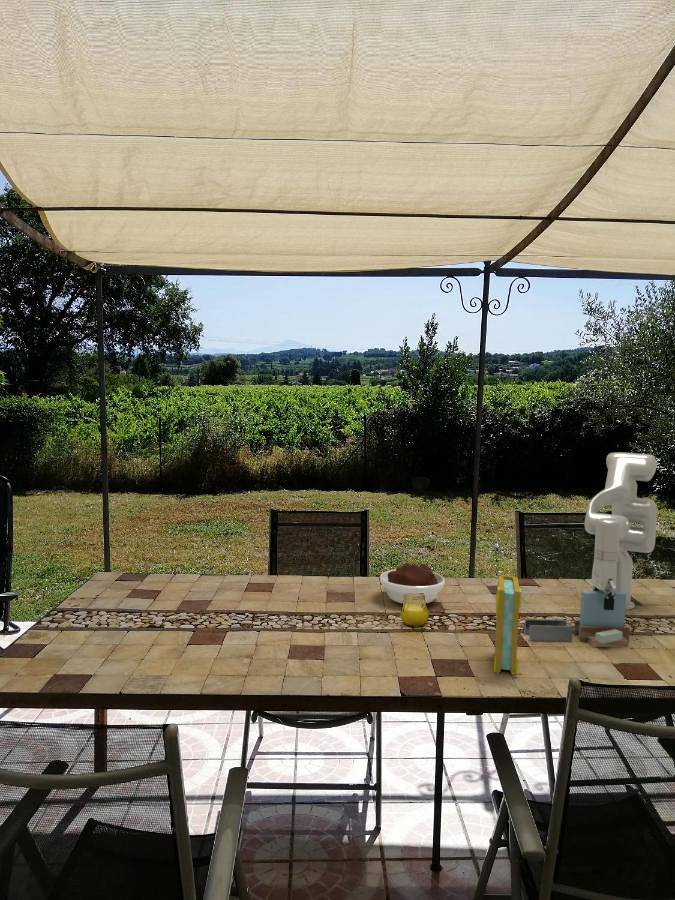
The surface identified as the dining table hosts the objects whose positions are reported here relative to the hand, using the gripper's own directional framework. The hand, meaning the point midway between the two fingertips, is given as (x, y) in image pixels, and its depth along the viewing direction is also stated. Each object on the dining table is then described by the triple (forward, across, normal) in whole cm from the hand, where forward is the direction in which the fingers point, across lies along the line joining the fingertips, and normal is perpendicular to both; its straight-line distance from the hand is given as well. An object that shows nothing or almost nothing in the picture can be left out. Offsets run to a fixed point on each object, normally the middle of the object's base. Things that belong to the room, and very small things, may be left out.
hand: (602, 605), depth 239 cm
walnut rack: (+12, 0, 0) cm, 12 cm away
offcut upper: (+10, +7, 0) cm, 12 cm away
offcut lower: (+12, +5, 0) cm, 13 cm away
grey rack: (+12, 0, -18) cm, 21 cm away
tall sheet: (+12, 0, 0) cm, 12 cm away
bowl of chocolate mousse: (+12, -36, -60) cm, 71 cm away
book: (+12, +22, -38) cm, 45 cm away
